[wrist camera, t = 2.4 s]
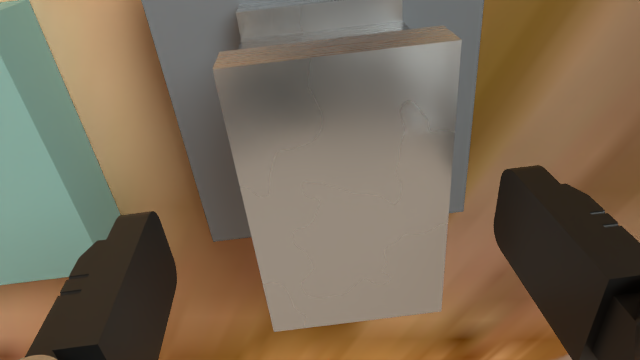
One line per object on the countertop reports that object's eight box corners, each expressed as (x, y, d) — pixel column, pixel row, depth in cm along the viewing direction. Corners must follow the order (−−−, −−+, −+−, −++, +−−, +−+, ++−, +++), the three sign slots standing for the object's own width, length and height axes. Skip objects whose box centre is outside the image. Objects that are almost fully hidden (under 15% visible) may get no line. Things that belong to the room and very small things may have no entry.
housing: (239, 4, 14) (212, 69, 9) (394, -14, 14) (461, 40, 9) (276, 205, 18) (273, 332, 13) (395, 191, 19) (441, 311, 13)
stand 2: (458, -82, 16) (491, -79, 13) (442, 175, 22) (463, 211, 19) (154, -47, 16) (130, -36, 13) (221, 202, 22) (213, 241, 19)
